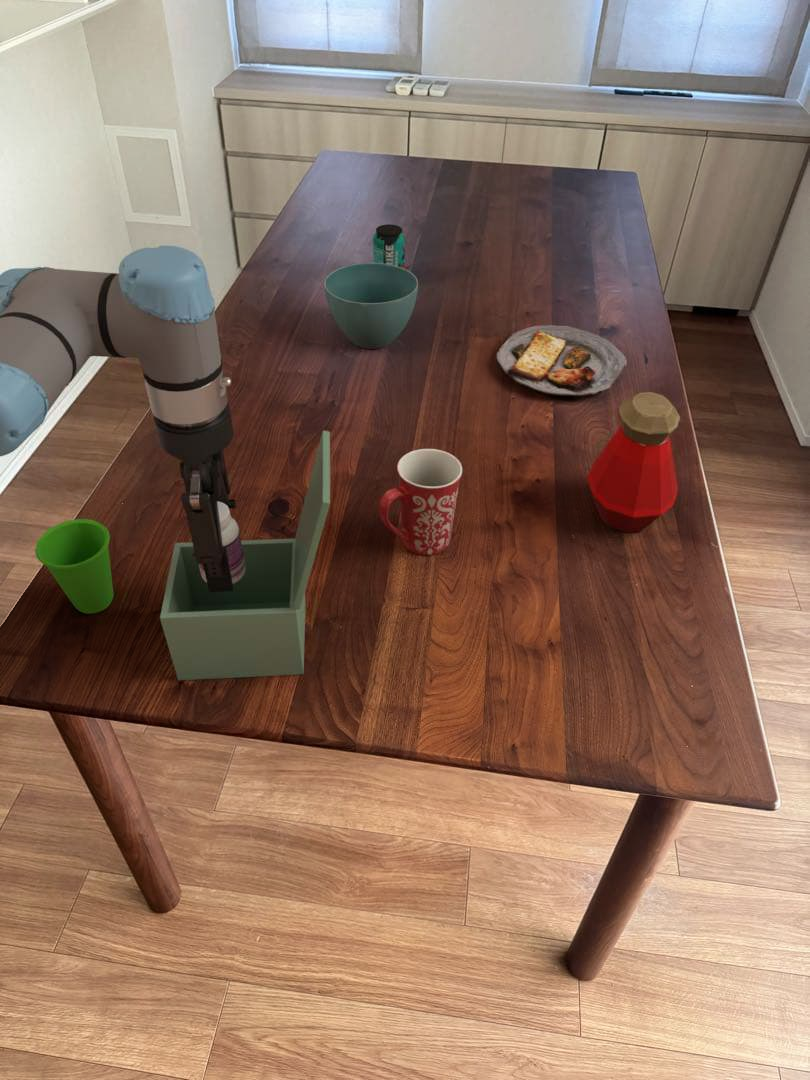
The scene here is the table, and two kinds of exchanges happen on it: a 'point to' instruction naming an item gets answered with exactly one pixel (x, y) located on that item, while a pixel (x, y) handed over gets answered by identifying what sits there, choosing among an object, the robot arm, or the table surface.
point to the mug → (424, 500)
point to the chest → (235, 616)
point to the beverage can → (389, 245)
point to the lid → (312, 519)
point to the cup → (79, 562)
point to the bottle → (637, 465)
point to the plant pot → (371, 301)
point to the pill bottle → (230, 544)
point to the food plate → (561, 360)
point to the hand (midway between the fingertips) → (223, 570)
